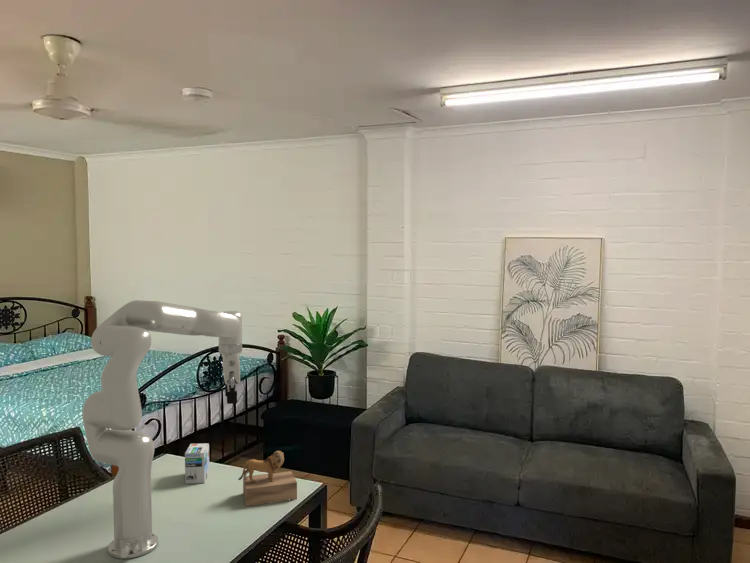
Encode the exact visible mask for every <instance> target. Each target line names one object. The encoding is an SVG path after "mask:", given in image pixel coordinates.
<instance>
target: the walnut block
mask: <svg viewBox="0 0 750 563" xmlns="http://www.w3.org/2000/svg"><path fill="white" fill-rule="evenodd" d="M246 476H247V477H248V478H247V479H244V477H242V493H243V498H244V501H245V505H246V507H249V505H251V506H257V505H258V504H259V505H265V504H264V503H266V504H271V503H270V502H274V503H277V502H276V501H281V502H284V501H283V500H289V499H296V500H297V499H298V481H297V480H296V478H295V475H294V473H293V472H292V470H291V471H290V470H289V471H282V472H273V479H274V481H273V482H271V481H270V479H269V478H268V473H266V474H257V475H252V479H253V480H255V482H251V480H250V478H249V475H246ZM289 501H290V500H289Z"/></svg>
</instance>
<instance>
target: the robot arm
mask: <svg viewBox="0 0 750 563" xmlns="http://www.w3.org/2000/svg"><path fill="white" fill-rule="evenodd" d="M242 316H243V315H242V313H241V312H240V311H234V310H233V311H232V310H228V311H215V310H208V309H203V308H198V307H193V306H187V305H182V304H176V303H175V304H174V303H169V302H164V301H157V300H141V299H140V300H131V301H129V302H127V303H126V304H124V305H123V306H121V307H120V308H119V309H118V310H115V312H113V314H112V315H110V316H109V317H108V318H106V319H105V320H104V321H103V322H101V323H100V324H99V325H98V326H97V327H96V328H95V330H94V331H93V333H92V336H91V338H90V339H91V340H90V344H91V348H92V349H93V351H94V352H95V353H96V354H98V355H100V356H103V357H110V359H109V360H108V362H107V363H106V364H105V366H104V368H103V370H102V372H101V376H100V386H101V390H99V391H96V392H93V393H92V394H90V395H89V396H88V397H87V399H86V400H85V402H84V404H83V407H82V422H83V426H84V433H85V436H86V441H87V442H86V443H87V446H88V449H89V452H90V455H91V457H92V458H93V459H94V460H95V461H97V462H99V463H101V464H102V463H103V464H106V465H112V466H115V467H118V470H117V473H116V475H115V477H114V479H113V483H112V496H113V497H112V501H113V502H112V505H113V540H111V542H109V544H108V545H107V553H108V555H110V556H111V557H113V558H116V559H132V558H137V557H141V556H143V555H144V556H145V555H146V554H148V553H150V552H152V551H154V550H155V549H156V547H157V546H158V544H159V537H158V536H157V535H156V534H155V533H153V518H152V516H153V515H152V514H153V512H152V468H153V467H152V466H153V460H154V455H155V442H154V440H153V439H152V437H151V436H150V435H148V434H147V433H144V432H142V431H137V430H134V429H135V428H137V427H138V426H139V425H140V424H141V422H142V417H143V412H142V403H141V397H140V393H139V388H138V380H137V373H138V369H139V368H140V365H141V363H142V361H143V360H144V358H145V356H146V355H147V354H148V352H149V351H150V349H151V346H152V335H151V333H150V332H157V333H162V334H163V333H165V334H174V335H181V336H192V337H193V336H196V337H197V336H205V337H211V338H218V354H219V355H221V356H222V371H223V373H222V374H223V381H224V384H225V385H224V387H225V389H224V390H225V391H224V393H225V397H226V404H228V405H229V404H237V403H238V390H237V384H238V385H239V384H241V363H240V354H242V353H243V320H242V319H243V317H242Z"/></svg>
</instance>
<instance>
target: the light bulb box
mask: <svg viewBox="0 0 750 563" xmlns="http://www.w3.org/2000/svg"><path fill="white" fill-rule="evenodd" d="M184 471H185V472H184V473H185V474H184V476H185V481H184V482H185V484H187V485H188V484H204V483H205V482H206V481H207V478H208V477H209V475H210V443H209V442H208V443H206V442H205V443H190V444H189V446H188V447H187V449H186V451H185V452H184Z"/></svg>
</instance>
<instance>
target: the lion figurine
mask: <svg viewBox="0 0 750 563" xmlns="http://www.w3.org/2000/svg"><path fill="white" fill-rule="evenodd" d="M284 456H285V454H284V452H282V451H281V450H276V451H274V452H273V454H271V455H270V456H268V457H267V458H265V459H263V460H258V459H255V458H252V459H249V460H247V461H246V462H245V464H244V466H243V470H242V474H241V476H240V477H238V478H237V479H238V481H241V480H243V477H244V479H247V478H248V477H247V476H249V478H250V480H251V482H255V480H253V479H252V476H254V475H253V474H254V472H255V471H257V472H260V473H267V474H268V478H269V479H270V481H271V482H273V481H274V479H273V473H275V472H276V471H279V470H280V468H281V467H282V466H283V464H284V462H285V457H284ZM247 474H248V475H247Z"/></svg>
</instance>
